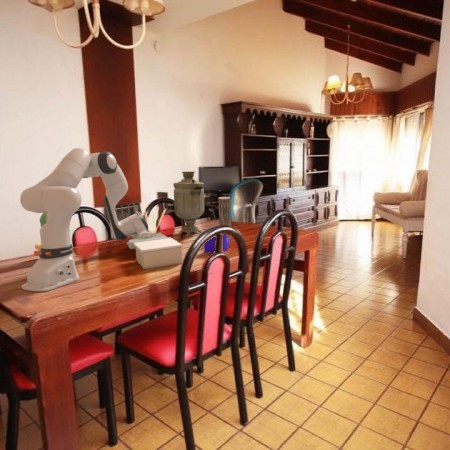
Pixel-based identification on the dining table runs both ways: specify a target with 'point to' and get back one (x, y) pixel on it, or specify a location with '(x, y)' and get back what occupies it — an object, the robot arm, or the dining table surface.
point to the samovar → (188, 201)
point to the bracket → (210, 244)
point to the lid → (156, 244)
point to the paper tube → (224, 212)
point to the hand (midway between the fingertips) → (152, 245)
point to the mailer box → (159, 257)
